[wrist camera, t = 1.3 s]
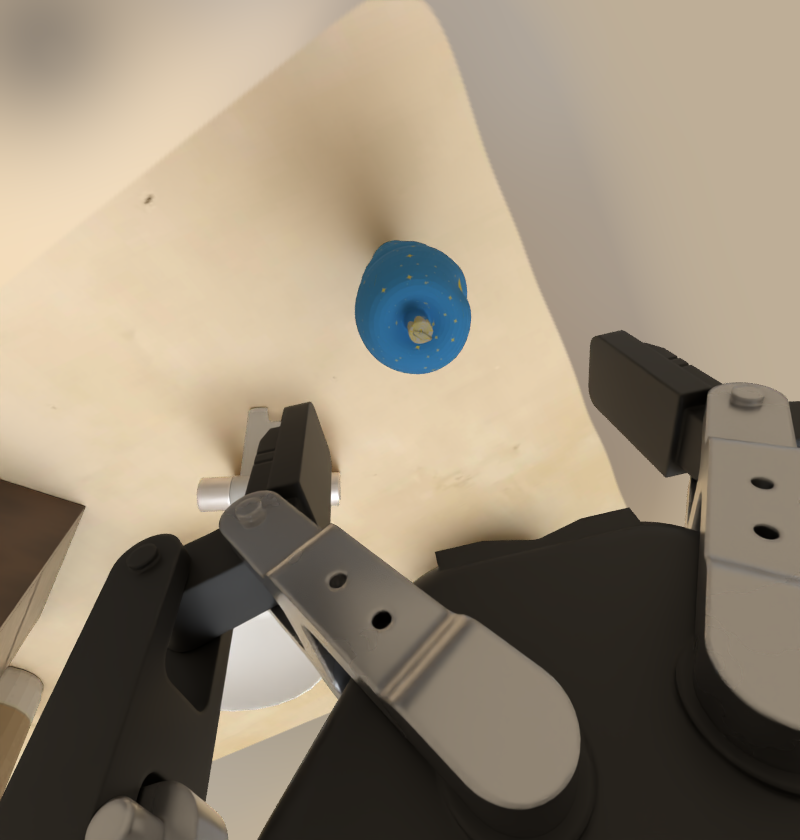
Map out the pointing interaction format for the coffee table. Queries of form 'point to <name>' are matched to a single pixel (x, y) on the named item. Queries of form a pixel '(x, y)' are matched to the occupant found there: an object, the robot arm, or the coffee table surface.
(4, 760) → the coffee cup
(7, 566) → the wooden drawer cabinet
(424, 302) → the ornament
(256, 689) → the bowl
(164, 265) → the coffee table surface
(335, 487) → the tablet stand
